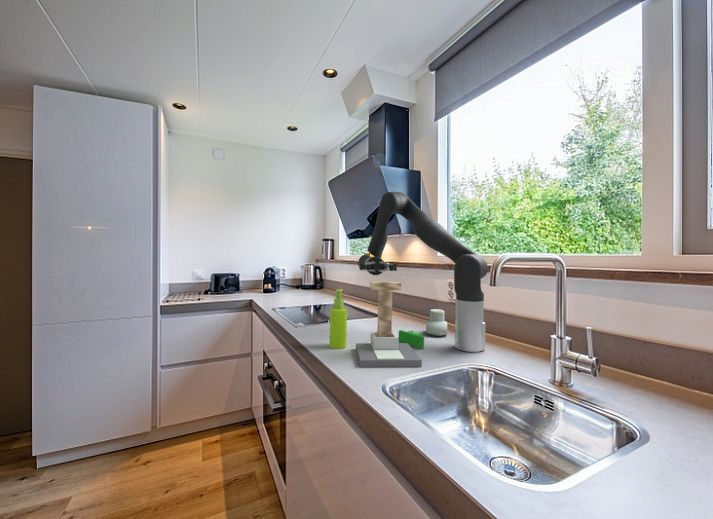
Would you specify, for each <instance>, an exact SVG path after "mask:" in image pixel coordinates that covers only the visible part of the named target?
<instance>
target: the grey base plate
mask: <svg viewBox="0 0 713 519" xmlns="http://www.w3.org/2000/svg"><path fill="white" fill-rule="evenodd" d="M355 351H356V356H357V359H358V364H359V366H360V368H420V367H421V368H422V366H423V365H422V363H423V359H422V358H420V356H419V355H418V354H417V353H416V351H415V350H414V348H412V346H410V345H409V344H408V343H400V342H399V335H397V334H396V332H394V331H391V337H377V331H370V342H359V343H358V342H355Z"/></svg>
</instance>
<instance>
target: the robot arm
mask: <svg viewBox="0 0 713 519" xmlns="http://www.w3.org/2000/svg"><path fill="white" fill-rule="evenodd" d="M392 215H400V216H401V217H403V218H404V219H406V221H408V222H409V224H410V226H411V228H412V230H413V232H414V234H415V235H416V237H417V238H418V239H419V240H420V241H421V242H423V243H424V244H425V245H426V246H427V247H428V248H430V249H432V250H434V251H435V252H438V253H439V254H441V255H443V256H445V257H446V258H448V259H450V261H452V262H453V263H454V270H453V286H454V292H455V298H456V299H455V320H454V322H455V324H454V348H455V349H457V350H460V351H464V352H468V353H469V352H470V353H478V352H481V351H484V352H485V351H486V328H487V327H486V325H487V324H486V322H484V310H485V308H484V305H485V304H484V303H485V302H484V301H485V292H483V291H482V286H481V284H482V283H481V282H482V280H481V279H483V278H484V277H485V276H487V274H488V270H489V265H488V262H487V261H486V260H485V258H484V257H483V256H481V255H480V254H478V253H476V252H475V251H473V250H472V249H470V248H469V247H467V246H466V245H464V244H463V243H462V242H461V241H459V239H457V238H456V237H455V236H454V235H453V234H452V233H451V232H450V231H449V230H447V229H446V228H445V227H444V226H443V225H441V223H439V222H438V221H436V219H434V218H433V217H431V216H430V215H428V214H427V213H426V212H425V211H424V210H422V209H421V208H420V207H419V206H417V205H416V203H414V201H413V200H412V199H411V198H410V197H409V196H408V195H406V194H405V193H404V192H401V191H386V192H385V193H384V194H383V195H382V196H381V198H380V202H379V207H378V210H377V216H376V221H375V226H374V229H373V233H372V236H371V239H370V241H369V243H368V246H367V252H368V253H369V254H370V256H369V255H368V254H363V255H361V256H360V257H359V258H358V261H357V266H358V268H359V271H366V272H367V273H368V274H370V275H372V276H379V275H381V274H383V273H384V272H389V271H390V272H393V271H394V272H396V271H398V264H397V263H389V262H385V260H383V258H382V255H383V252H384V250H385V247H386V245H387V241H388V224H389V221H390V220H391V219H390V218H392Z"/></svg>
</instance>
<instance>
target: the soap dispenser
mask: <svg viewBox="0 0 713 519" xmlns="http://www.w3.org/2000/svg"><path fill="white" fill-rule="evenodd" d="M343 291H344V288H337V289H336V290H335V293H336V297H335V298H334V299H333V307H332V308H329V311H330V312H329V347H330V349H332V350H333V349H335V350H341V349H342V350H343V349H346V347H347V335H348V334H347V329H348V327H347V324H348V322H347V321H348V309H347V308H345V306H344V303H345V302H344V298H342V292H343Z"/></svg>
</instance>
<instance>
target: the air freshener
mask: <svg viewBox="0 0 713 519" xmlns="http://www.w3.org/2000/svg"><path fill="white" fill-rule="evenodd" d="M425 323H426V327H425V332H426V333H427V334H428V335H430V336H435V337H443V335H444V336H446V335H447V334H448V321H446V320H445V311H444V310H443V309H438V308H436V309H435V308H433V309H430V310H429V319H428V320H426V322H425Z"/></svg>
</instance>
